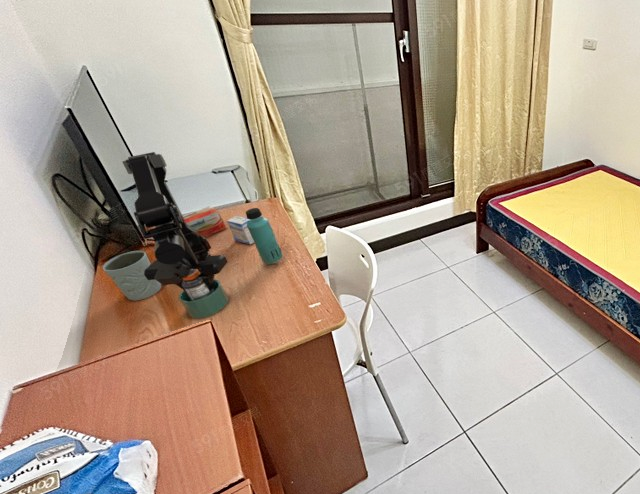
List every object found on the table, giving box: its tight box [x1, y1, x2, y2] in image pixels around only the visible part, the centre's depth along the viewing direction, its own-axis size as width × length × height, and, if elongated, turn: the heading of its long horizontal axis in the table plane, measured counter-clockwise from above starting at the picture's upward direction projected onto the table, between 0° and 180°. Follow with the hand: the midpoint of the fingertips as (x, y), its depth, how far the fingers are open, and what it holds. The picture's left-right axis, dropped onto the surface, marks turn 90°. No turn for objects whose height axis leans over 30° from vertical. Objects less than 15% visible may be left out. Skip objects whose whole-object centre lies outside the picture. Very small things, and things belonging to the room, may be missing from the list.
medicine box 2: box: [226, 215, 255, 245], centre depth 145 cm, size 8×4×9 cm, turn 68°
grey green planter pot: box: [102, 250, 163, 302], centre depth 121 cm, size 10×10×12 cm
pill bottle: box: [182, 269, 214, 301], centre depth 113 cm, size 6×6×11 cm
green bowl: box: [178, 278, 229, 319], centre depth 115 cm, size 10×10×6 cm
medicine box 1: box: [182, 205, 227, 238], centre depth 150 cm, size 15×8×8 cm, turn 142°
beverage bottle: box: [245, 207, 283, 265], centre depth 129 cm, size 6×7×20 cm
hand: (200, 290), depth 114 cm, fingers closed on pill bottle, 6 cm apart
